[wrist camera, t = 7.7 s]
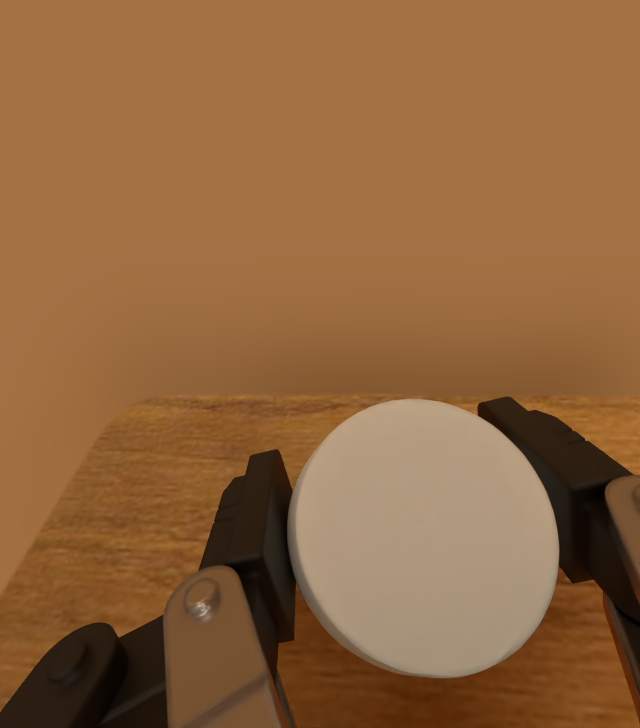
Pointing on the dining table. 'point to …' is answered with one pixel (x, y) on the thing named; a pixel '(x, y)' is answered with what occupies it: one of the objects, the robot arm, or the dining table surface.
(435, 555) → the pill bottle
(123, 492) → the dining table surface
